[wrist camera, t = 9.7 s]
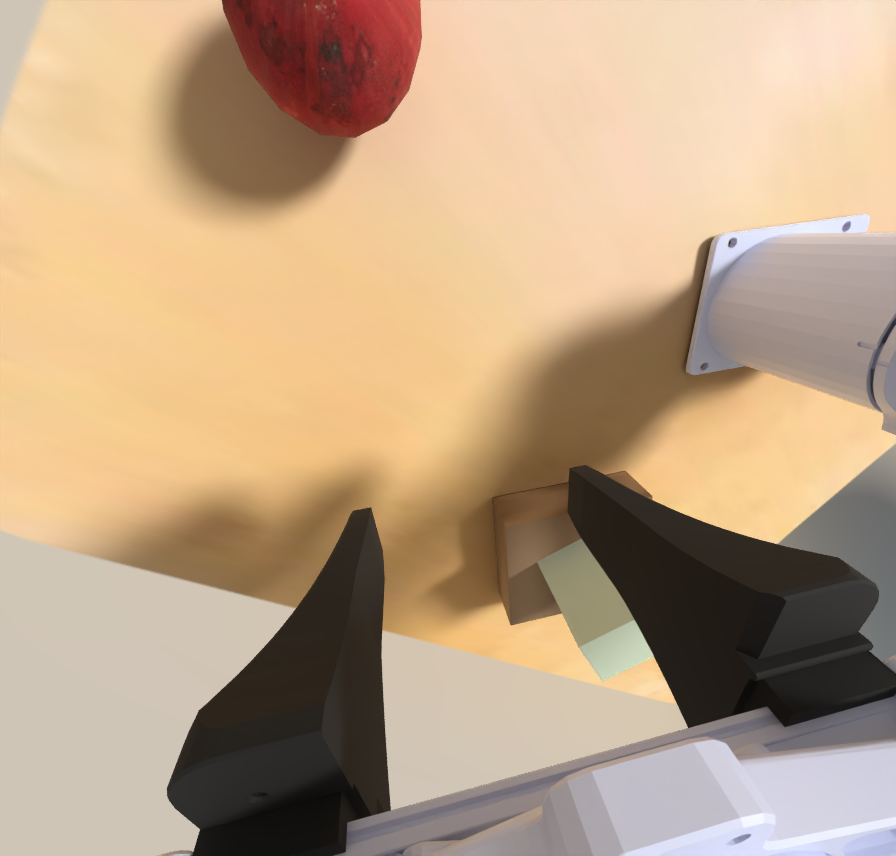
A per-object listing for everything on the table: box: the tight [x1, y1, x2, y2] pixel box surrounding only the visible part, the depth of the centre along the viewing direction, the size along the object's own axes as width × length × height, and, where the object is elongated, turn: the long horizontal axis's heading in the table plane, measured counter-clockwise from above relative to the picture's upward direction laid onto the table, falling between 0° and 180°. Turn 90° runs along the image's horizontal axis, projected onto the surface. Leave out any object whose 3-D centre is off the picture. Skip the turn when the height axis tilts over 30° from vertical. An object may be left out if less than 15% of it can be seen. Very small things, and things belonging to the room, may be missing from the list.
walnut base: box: [493, 471, 652, 625], centre depth 27 cm, size 10×10×3 cm
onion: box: [222, 0, 422, 138], centre depth 11 cm, size 6×6×8 cm
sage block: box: [537, 539, 654, 681], centre depth 23 cm, size 4×4×6 cm
